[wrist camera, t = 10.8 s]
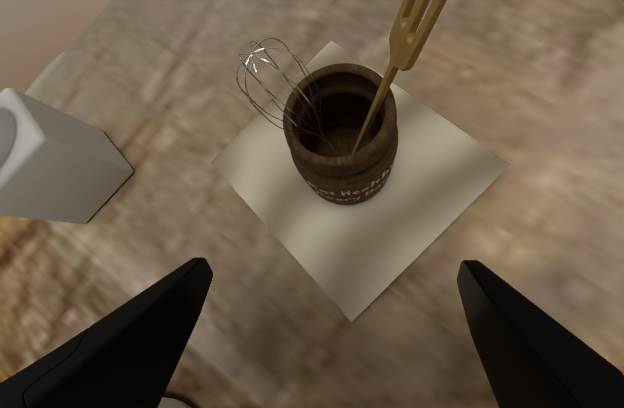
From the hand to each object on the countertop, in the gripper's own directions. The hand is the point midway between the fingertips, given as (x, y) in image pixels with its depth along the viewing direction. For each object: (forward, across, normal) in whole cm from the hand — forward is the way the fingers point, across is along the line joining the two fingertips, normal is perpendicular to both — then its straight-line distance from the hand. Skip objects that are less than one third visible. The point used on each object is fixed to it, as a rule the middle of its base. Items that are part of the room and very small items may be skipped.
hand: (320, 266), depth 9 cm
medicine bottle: (+12, +25, +1) cm, 28 cm away
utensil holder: (+10, -1, +1) cm, 10 cm away
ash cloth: (+12, 0, +2) cm, 12 cm away
